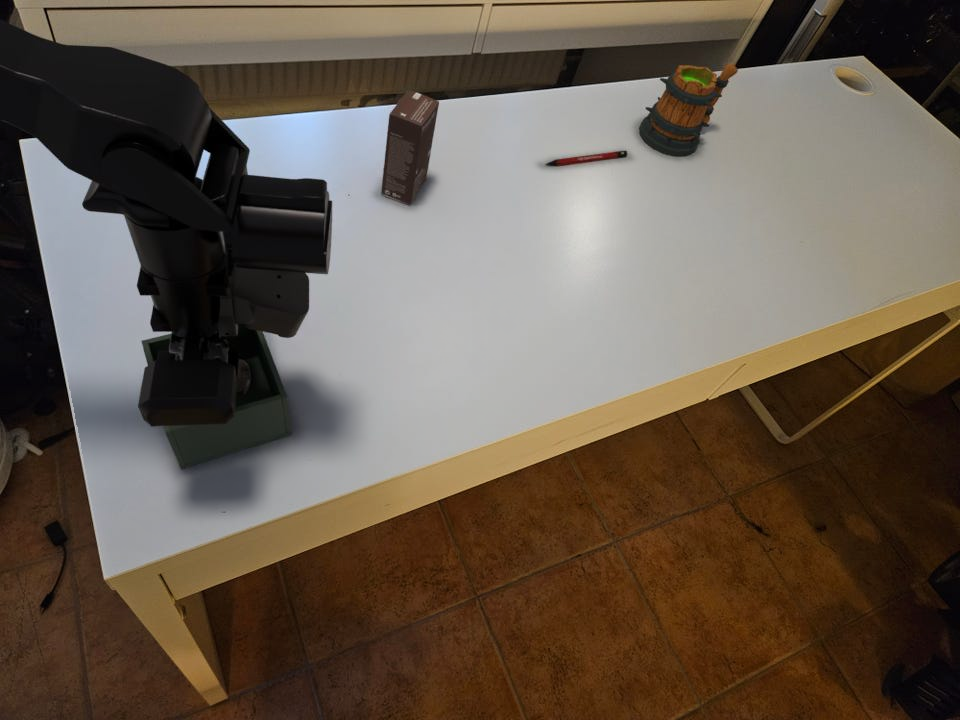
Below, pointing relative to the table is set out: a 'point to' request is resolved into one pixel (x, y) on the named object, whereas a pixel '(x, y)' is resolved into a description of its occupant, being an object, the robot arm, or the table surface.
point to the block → (243, 378)
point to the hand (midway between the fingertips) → (214, 376)
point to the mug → (683, 109)
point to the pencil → (588, 158)
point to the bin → (255, 411)
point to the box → (408, 146)
